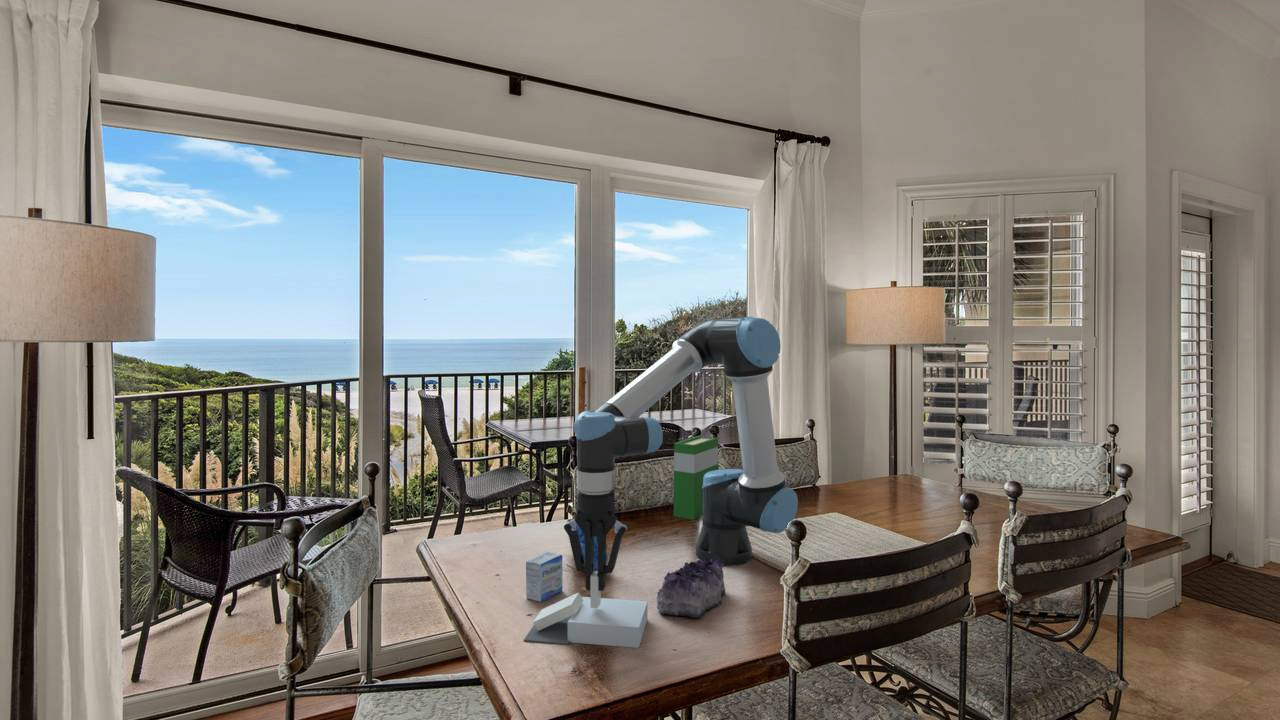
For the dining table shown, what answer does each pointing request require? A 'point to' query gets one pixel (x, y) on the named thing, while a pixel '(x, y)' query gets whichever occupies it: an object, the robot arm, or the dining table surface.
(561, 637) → the mat
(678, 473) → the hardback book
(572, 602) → the cream rectangular box
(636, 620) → the block
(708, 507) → the robot arm
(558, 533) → the dining table surface
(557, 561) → the medicine box
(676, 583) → the geode
